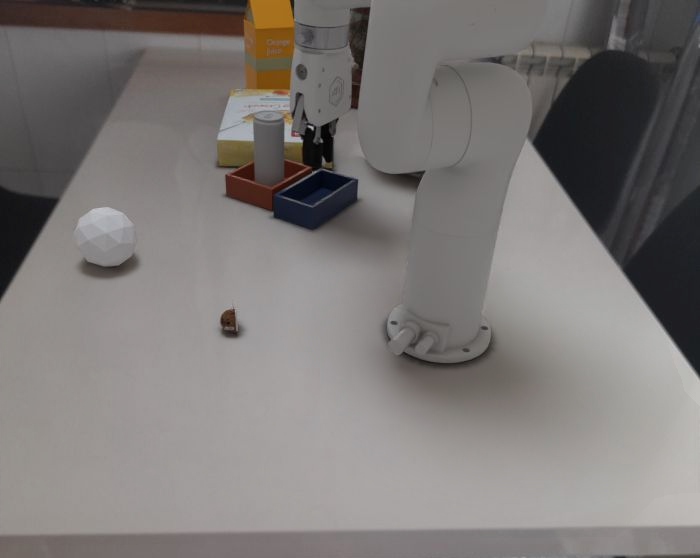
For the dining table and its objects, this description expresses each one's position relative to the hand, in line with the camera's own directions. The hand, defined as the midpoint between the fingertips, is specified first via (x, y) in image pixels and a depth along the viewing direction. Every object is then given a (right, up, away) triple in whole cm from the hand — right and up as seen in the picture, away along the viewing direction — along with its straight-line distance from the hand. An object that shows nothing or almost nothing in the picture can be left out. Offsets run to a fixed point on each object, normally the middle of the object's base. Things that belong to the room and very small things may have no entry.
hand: (317, 162), depth 109 cm
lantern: (+9, +28, +52) cm, 60 cm away
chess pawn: (0, 0, 0) cm, 0 cm away
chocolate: (-9, -26, -23) cm, 36 cm away
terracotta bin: (-8, -3, +8) cm, 12 cm away
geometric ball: (-28, -17, -12) cm, 34 cm away
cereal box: (-9, +11, +27) cm, 31 cm away
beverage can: (-8, -2, +8) cm, 12 cm away
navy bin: (0, -6, +4) cm, 8 cm away
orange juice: (-13, +28, +50) cm, 58 cm away
